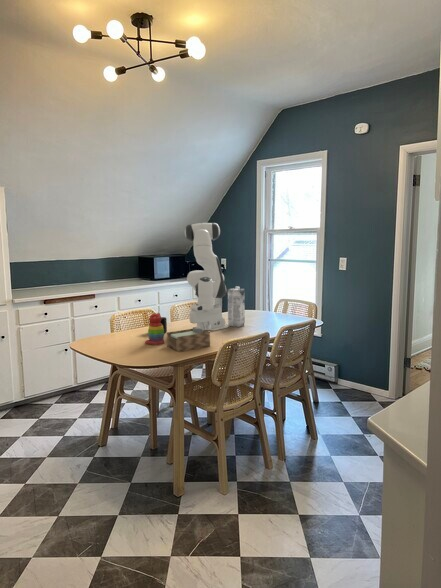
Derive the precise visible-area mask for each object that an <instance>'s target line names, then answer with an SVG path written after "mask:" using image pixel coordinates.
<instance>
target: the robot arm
mask: <svg viewBox="0 0 441 588" xmlns="http://www.w3.org/2000/svg"><path fill="white" fill-rule="evenodd" d="M220 235H221V228H220V226H219V224H218V223H216V222H199V223H194V224H192V223H190V224H187V225H186V226H185V229H184V236H185V239H186V240H187V241H189V242H193V245H192V247H193V255H194V257H195V261H196V263H197V264H198V265H199V266H201V267H202V268H203V270H199V269H198V270H197V269H196V270H192V271H189V272H188V273H187V276H186V280H187V284H188V285H189V286H190V287H192V289H193V290H194V292H195V293H194V295H195V296H196V298H197V302H196V303H194V304H192V305H191V306H190V312H189V322H190V324H192V325H195V324H196V326H195V327H197V328H200V329H203V331H209V332H210V331H211V332H212V331H213V332H214V331H219V330H222V329H223V330H224V329H226V328H229V327H230V326H229V325H228V324H226V320H225V317H224V316H223V312H222V306H221V305H220V304H219V303H218V304H215V299H222V298H224V297H225V296H226V294H227V286H226V283H225V275H224V274H223V271H222V267H221V264H220V260H219V257H218V256H217V255H216V254H215V253H214V251H213V244H212V243H213V242H212V241H215V240H218V239H219V238H220Z"/></svg>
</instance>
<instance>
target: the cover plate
mask: <svg viewBox="0 0 441 588" xmlns="http://www.w3.org/2000/svg"><path fill="white" fill-rule="evenodd" d="M192 329H193V331H189V332H183V333H176V334H171V337H173V338H175V339H177V337H180V336H187V335H193V334H199V333H203V332H204V330H203V329H200V328H197V327H196V326H193V327H192Z"/></svg>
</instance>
